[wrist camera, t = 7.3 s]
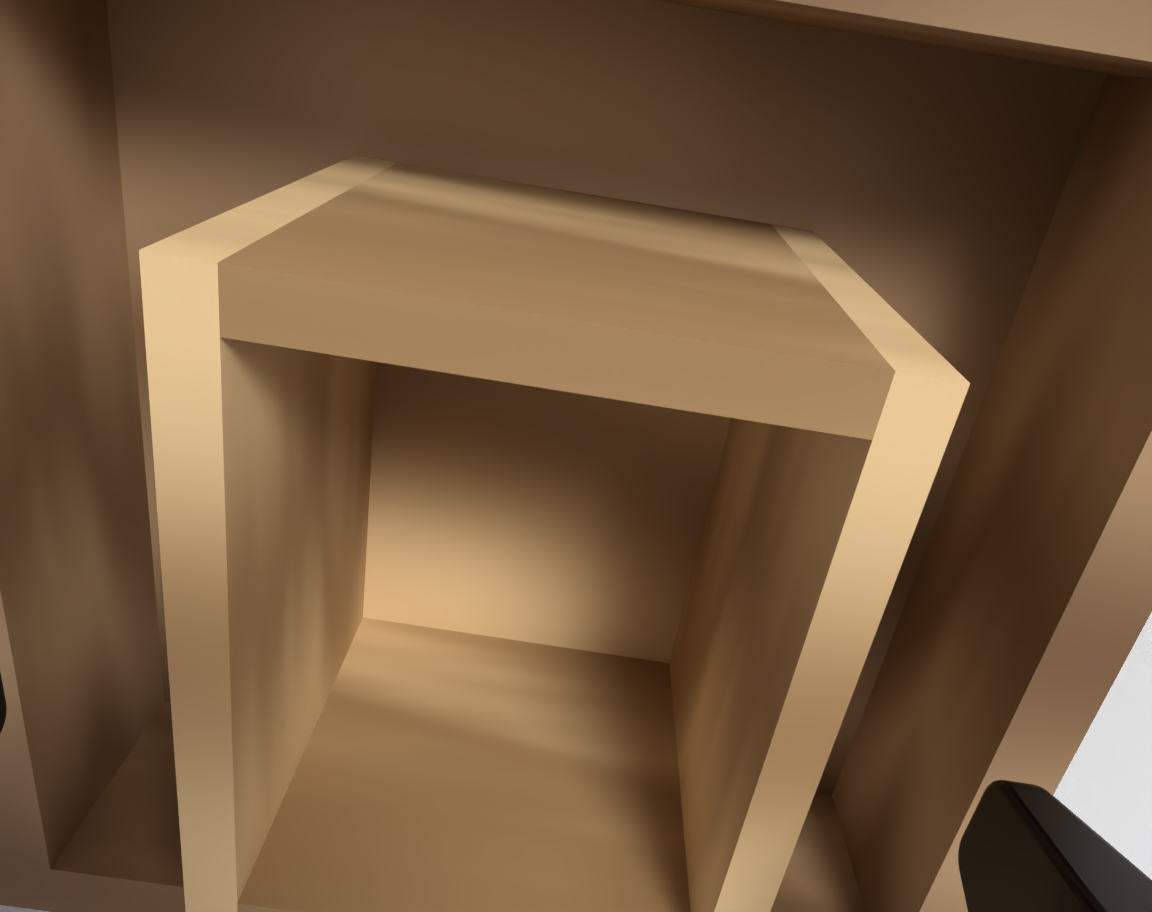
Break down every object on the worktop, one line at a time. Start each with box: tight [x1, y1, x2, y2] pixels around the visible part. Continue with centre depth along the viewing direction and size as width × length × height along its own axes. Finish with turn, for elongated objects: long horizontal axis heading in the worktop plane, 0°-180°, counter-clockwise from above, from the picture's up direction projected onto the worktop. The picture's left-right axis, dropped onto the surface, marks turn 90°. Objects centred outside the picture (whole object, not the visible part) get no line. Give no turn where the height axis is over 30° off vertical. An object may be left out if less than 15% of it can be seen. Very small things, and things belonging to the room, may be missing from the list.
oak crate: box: [139, 156, 970, 912], centre depth 11 cm, size 8×6×6 cm
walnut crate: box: [0, 0, 1152, 912], centre depth 12 cm, size 15×15×4 cm
